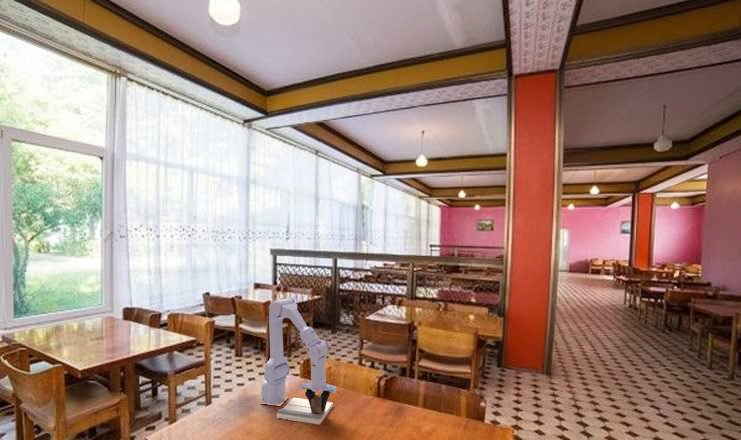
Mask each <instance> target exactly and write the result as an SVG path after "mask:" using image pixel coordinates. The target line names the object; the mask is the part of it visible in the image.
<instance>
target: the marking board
mask: <svg viewBox="0 0 741 440" xmlns="http://www.w3.org/2000/svg"><path fill="white" fill-rule="evenodd" d="M333 406H334V402H331V401H327V403H326V408H325V412H324V413H323V414H322V415H321V414H314V413H311V408H310V403H309V401H308V398H300V397H299V398H298V397H292V398H291V399H290V400H289V402H288V403H286V404H285V405H284V406H283V408H279V409H278V410H277V413H276V419H279V418H282V419H281V420H286V419H288V420H287V421H293V422H300V423H306V424H314V425H321V423H322V422H323V421H324V420H325V418H326V417H327V415H328V414H329V412H330V411H331V410H332V409H333Z"/></svg>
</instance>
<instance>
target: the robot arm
mask: <svg viewBox="0 0 741 440" xmlns="http://www.w3.org/2000/svg"><path fill="white" fill-rule="evenodd" d="M268 311H269V313H268V314H269V315H268V320H269V321H268V323H269V324H268V325H269V326H268V327H269V348H270V349H269V353H270V354H269V355H270V358H269V360H267V362H266V363H265V365H264V366H265V367H264V372H263V377H264V378H263V379H264V380H263V382H262V385H261V399H260V400H261V402H266V403H270V404H280V403H282V402H284V401H285V397H286V380H287V377H288V376H289V374H290V371H291V370H290V366H289V359H288V358H286V357H284V339H283V338H284V337H283V335H284V334H283V320H284V319H289V320H290V321H291V322H292V323H293V325H294V326H295V327H296V328H297V330H298V331H299V332H300V333H299V337H300V339H301V340H302V342H303V343H304V345H305V347H307V350H308V351H307V354H308V357H309V359H310V361H309V362H310V369H311V370H310V371H311V372H310V382H301V383H300V387H299V389H300V390H306V391H305V392H304V393H305V397H306V399H308V401H309V403H310V408H311V399H312V398H313V397H314V396H315V395H316V392H319V391H320V392H321V394H320V395H321V400H322V411H324V410H325V408H326V403H327V402H328V400H329V397H330V394H331V393H332V394H336V393H337V386H336V385H332V384H328V383H326V378H327V375H326V374H327V373H326V371H327V367H326V366H327V355H328V354H329V352H330V347H329V345H328V342H326V341H325V340H323V339H320V338H319V337H320V336H318V334H317V333H316V332H315V330H314V328H313V327H312V326H307V323H306V322H305V320H304V319H303V316H302V314H300V312H299V310H298V304H297V302H296V301H295V299H294V298H293V297H287V298H284V299H280V300H273V301H272V302H271V303H270V304H269V305H268ZM264 399H265V400H264ZM261 402H260V403H261Z"/></svg>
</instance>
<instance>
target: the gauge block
mask: <svg viewBox="0 0 741 440" xmlns="http://www.w3.org/2000/svg"><path fill="white" fill-rule="evenodd" d="M324 412H325V410H324V411H322V400H321V394H315V396H314V397H313V398H312V399H311V413H314V414H321V415H322V414H323V413H324Z"/></svg>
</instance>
